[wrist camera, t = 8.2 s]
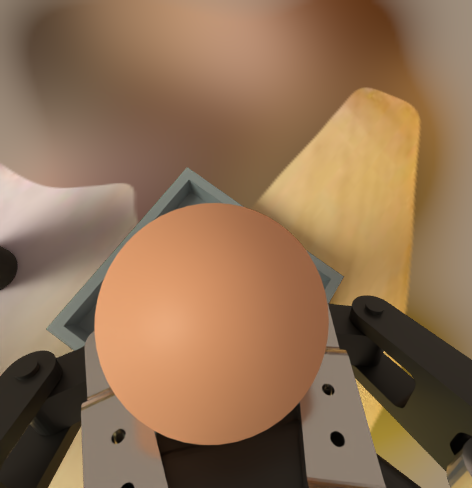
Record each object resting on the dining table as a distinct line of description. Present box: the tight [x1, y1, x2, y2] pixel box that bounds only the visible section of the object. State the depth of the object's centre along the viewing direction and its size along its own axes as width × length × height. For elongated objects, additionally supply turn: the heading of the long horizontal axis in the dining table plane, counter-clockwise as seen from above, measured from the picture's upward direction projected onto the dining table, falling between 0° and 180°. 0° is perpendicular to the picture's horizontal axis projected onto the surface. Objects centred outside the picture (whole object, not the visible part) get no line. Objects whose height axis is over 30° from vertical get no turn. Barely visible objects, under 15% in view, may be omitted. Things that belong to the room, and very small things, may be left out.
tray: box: [46, 168, 344, 351], centre depth 28 cm, size 20×20×4 cm
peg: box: [95, 203, 329, 445], centre depth 11 cm, size 4×4×12 cm
